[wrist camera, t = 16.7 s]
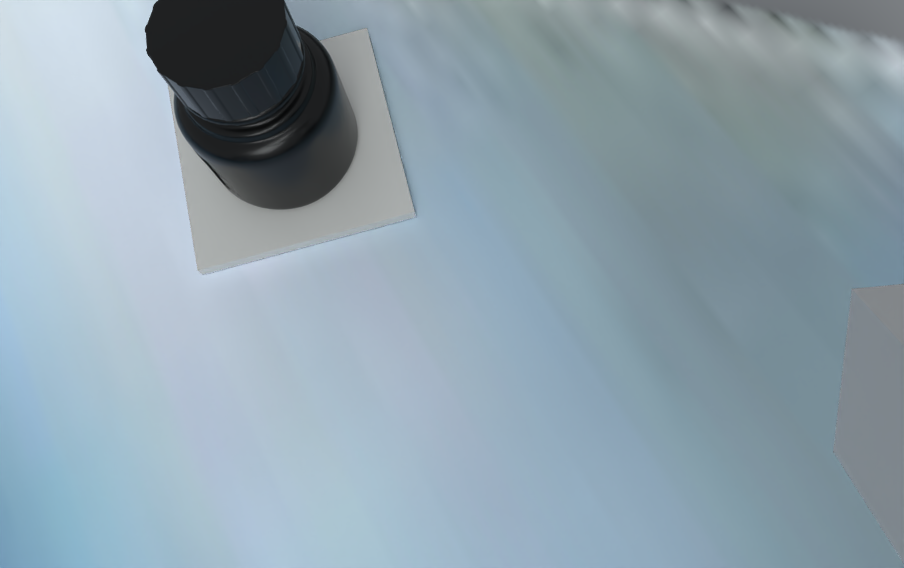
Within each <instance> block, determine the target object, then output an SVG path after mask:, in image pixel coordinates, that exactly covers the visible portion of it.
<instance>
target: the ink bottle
mask: <svg viewBox="0 0 904 568" xmlns="http://www.w3.org/2000/svg"><path fill="white" fill-rule="evenodd" d="M145 32H146V42H147V49H146V51H147V54H148V56H149V57H150V58H151V60H152V61H153V63H154V64H155V66H156V68H157V71H158V72H159V74H160V75H161V76H162V77H163V79H164V80H165V81H166V83H167V84H168V85H169V86H170V88H171V89H172V90H173V92H174V113H175V118H176V121H177V124H178V127H179V129H180V131H181V133H182V135H183V136H184V138H185V139H186V141H187V142H188V143H189V145H190V146H191V147H192V148H193V150H194V151H195V152H196V153H197V155H198V156H199V157H200V158H201V159H202V161H203V162H204V163H205V164H206V165H207V167H208V168H209V169H210V170H211V171H212V172H213V174H214V175H215V176H216V177H217V178H218V180H219V181H220V182H221V183H222V184H223V185H224V187H225V188H226V189H227V190H228V191H230V192H231V193H232V194H233V195H235V196H236V197H238V198H239V199H241V200H243V201H245V202H247V203H249V204H251V205H254V206H257V207H261V208H266V209H275V210H285V209H294V208H299V207H303V206H306V205H309V204H311V203H313V202H316V201H317V200H319V199H321V198H322V197H324V196H325V195H327V194H328V193H329V192H330V191H331V190H333V189H334V188H335V187H336V185H337V184H338V183H339V182H340V181H341V180H342V178H343V177H344V175H345V174H346V172H347V171H348V169H349V167H350V165H351V163H352V160H353V158H354V155H355V151H356V147H357V140H358V128H357V122H356V118H355V114H354V112H353V109H352V107H351V104H350V102H349V99H348V97H347V94H346V92H345V89H344V87H343V84H342V82H341V79H340V77H339V74H338V72H337V69H336V67H335V65H334V62H333V60H332V58H331V56H330V54H329V53H328V51H327V50H326V48H325V47H324V46H323V45H322V43H321V42H320V41H319V40H318V39H317V38H315V37H314V36H313V35H312V34H310V33H309V32H307V31H306V30H304V29H303V28H301V27H299V26H296V25H295V23H294V21H293V19H292V16H291V14H290V12H289V10H288V7H287V5H286V3H285V1H284V0H158V1H157V2H156V3H155V4H154V6H153V10H152V13H151V16H150V18H149V21H148V24H147V25H146V27H145Z"/></svg>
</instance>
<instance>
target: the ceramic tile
mask: <svg viewBox="0 0 904 568" xmlns="http://www.w3.org/2000/svg"><path fill="white" fill-rule="evenodd" d="M320 42H321V43H322V45H323V46H324V47H325V48H326V50H327V51H328V53H329V54H330V56H331V58H332V60H333V62H334V65H335V67H336V69H337V72H338V74H339V77H340V79H341V82H342V84H343V87H344V89H345V92H346V94H347V97H348V99H349V102H350V104H351V107H352V109H353V112H354V114H355V118H356V122H357V128H358V140H357V147H356V151H355V155H354V158H353V160H352V163H351V165H350V167H349V169H348V171H347V172H346V174H345V175H344V177H343V178H342V180H341V181H340V182H339V183H338V184H337V185H336V187H335V188H334V189H333V190H331V191H330V192H329V193H328V194H327V195H325V196H324V197H322V198H321V199H319V200H317V201H316V202H313V203H311V204H309V205H306V206H303V207H299V208H294V209H285V210H275V209H266V208H261V207H257V206H254V205H251V204H249V203H247V202H245V201H243V200H241V199H239V198H238V197H236V196H235V195H233V194H232V193H231V192H230V191H228V190H227V189H226V188H225V187H224V185H223V184H222V183H221V182H220V181H219V180H218V178H217V177H216V176H215V175H214V174H213V172H212V171H211V170H210V169H209V168H208V167H207V165H206V164H205V163H204V162H203V161H202V159H201V158H200V157H199V156H198V155H197V153H196V152H195V151H194V150H193V148H192V147H191V146H190V145H189V143H188V142H187V141H186V139H185V138H184V136H183V135H182V133H181V131H180V129H179V127H178V124H177V121H176V118H175V113H174V92H173V90H172V89H171V88H170V86H169V85H168V89H169V95H170V102H171V108H172V114H173V120H174V127H175V133H176V139H177V145H178V151H179V158H180V164H181V170H182V176H183V183H184V189H185V195H186V201H187V207H188V214H189V220H190V226H191V232H192V239H193V245H194V251H195V257H196V263H197V270H198V271H199V272H200V273H201V274H202V275H204V274H208V273H212V272H216V271H219V270H223V269H227V268H230V267H234V266H238V265H241V264H245V263H249V262H252V261H256V260H260V259H264V258H267V257H271V256H275V255H278V254H282V253H286V252H289V251H293V250H297V249H300V248H304V247H308V246H312V245H315V244H319V243H323V242H326V241H330V240H334V239H337V238H341V237H345V236H348V235H352V234H356V233H360V232H363V231H367V230H371V229H374V228H378V227H382V226H385V225H389V224H393V223H396V222H400V221H404V220H408V219H411V218H415V217H416V214H415V210H414V206H413V202H412V199H411V195H410V191H409V187H408V183H407V179H406V175H405V172H404V168H403V164H402V160H401V156H400V152H399V148H398V145H397V141H396V137H395V133H394V129H393V125H392V121H391V118H390V114H389V110H388V106H387V102H386V98H385V94H384V91H383V87H382V83H381V79H380V75H379V71H378V67H377V64H376V60H375V56H374V52H373V48H372V44H371V40H370V37H369V33H368V30H367V28H364V29H361V30H357V31H353V32H350V33H346V34H342V35H339V36H335V37H331V38H328V39H324V40H320Z"/></svg>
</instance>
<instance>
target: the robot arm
mask: <svg viewBox="0 0 904 568" xmlns="http://www.w3.org/2000/svg"><path fill="white" fill-rule="evenodd" d="M833 452H834V453H835V455H836V457H837V458H838V460H839V461H840V463H841V465H842V466H843V468H844V469H845V471H846V473H847V474H848V476H849V477H850V479H851V480H852V482H853V484H854V485H855V487H856V488H857V490H858V492H859V493H860V495H861V496H862V498H863V500H864V501H865V503H866V504H867V506H868V507H869V509H870V511H871V512H872V514H873V515H874V517H875V519H876V520H877V522H878V523H879V525H880V527H881V528H882V530H883V531H884V533H885V534H886V536H887V538H888V539H889V541H890V542H891V544H892V546H893V547H894V549H895V550H896V552H897V554H898V555H899V557H900V558H901V560H902V562H903V563H904V284H899V285H888V286H878V287H867V288H857V289H852V292H851V301H850V310H849V318H848V327H847V336H846V344H845V353H844V362H843V371H842V379H841V388H840V397H839V405H838V414H837V423H836V431H835V440H834V449H833Z"/></svg>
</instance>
